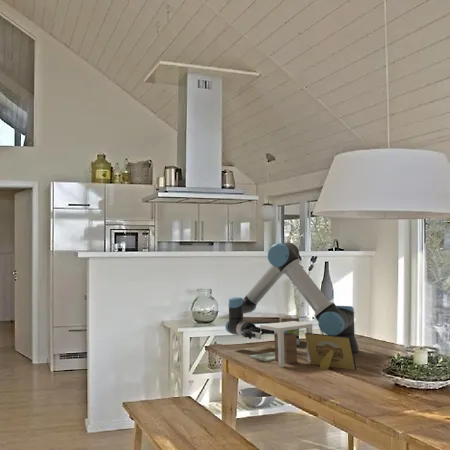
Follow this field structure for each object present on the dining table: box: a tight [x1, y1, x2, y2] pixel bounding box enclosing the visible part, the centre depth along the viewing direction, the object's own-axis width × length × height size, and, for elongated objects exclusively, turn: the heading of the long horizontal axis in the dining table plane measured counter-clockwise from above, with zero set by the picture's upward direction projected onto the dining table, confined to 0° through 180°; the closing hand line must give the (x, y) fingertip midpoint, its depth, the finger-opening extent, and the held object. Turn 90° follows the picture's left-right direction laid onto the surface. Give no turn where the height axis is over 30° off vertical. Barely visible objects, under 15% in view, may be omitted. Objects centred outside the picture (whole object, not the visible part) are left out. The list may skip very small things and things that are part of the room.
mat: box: [249, 351, 275, 362], centre depth 299 cm, size 14×14×1 cm
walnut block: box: [273, 332, 298, 365], centre depth 289 cm, size 9×6×13 cm, turn 33°
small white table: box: [259, 321, 313, 368], centre depth 288 cm, size 14×20×18 cm
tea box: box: [278, 314, 300, 346], centre depth 339 cm, size 15×10×15 cm, turn 179°
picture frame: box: [304, 332, 357, 371], centre depth 271 cm, size 23×9×15 cm, turn 47°
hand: (271, 334), depth 297 cm, fingers open, 13 cm apart
